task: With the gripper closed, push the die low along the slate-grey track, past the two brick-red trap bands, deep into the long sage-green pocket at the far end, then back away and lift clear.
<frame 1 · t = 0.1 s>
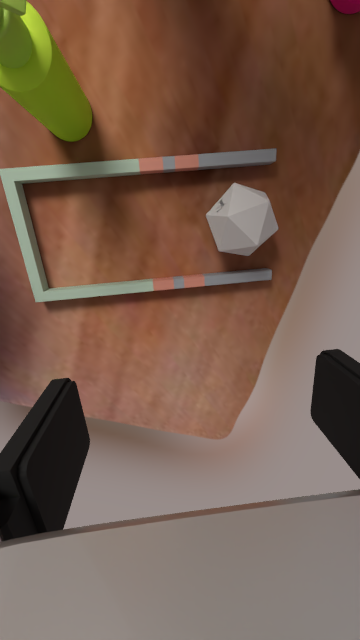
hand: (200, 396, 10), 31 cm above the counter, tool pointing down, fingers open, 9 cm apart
soap dispenser: (72, 115, 32), on the counter
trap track: (164, 228, 37), on the counter
die: (233, 222, 38), on the counter
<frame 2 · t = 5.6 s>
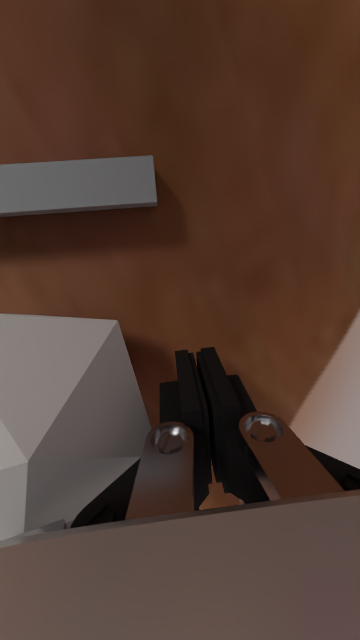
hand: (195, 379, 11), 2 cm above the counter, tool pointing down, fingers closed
die: (67, 365, 13), on the counter, touching gripper
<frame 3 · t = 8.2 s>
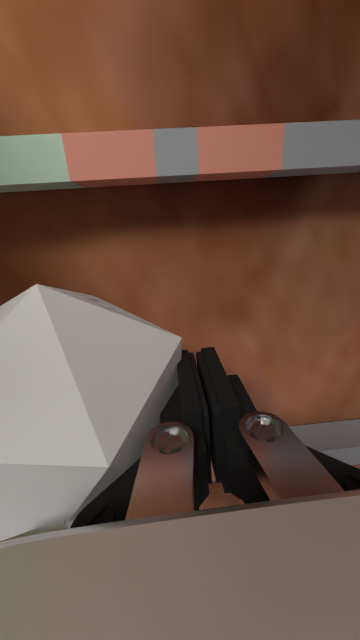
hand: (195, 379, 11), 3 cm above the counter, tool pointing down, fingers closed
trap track: (159, 335, 14), on the counter
die: (101, 349, 14), on the counter, touching gripper
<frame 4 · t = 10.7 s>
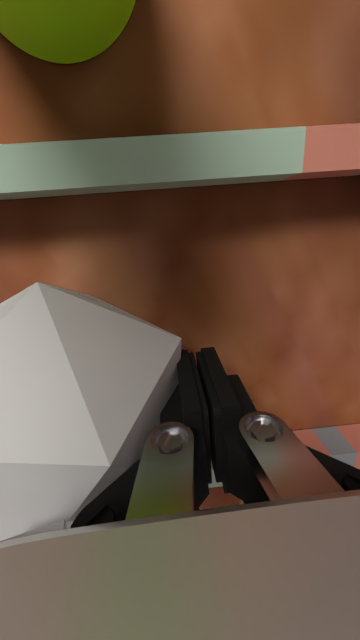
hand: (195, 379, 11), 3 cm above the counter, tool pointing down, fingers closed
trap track: (316, 325, 14), on the counter
die: (99, 350, 14), on the counter, touching gripper
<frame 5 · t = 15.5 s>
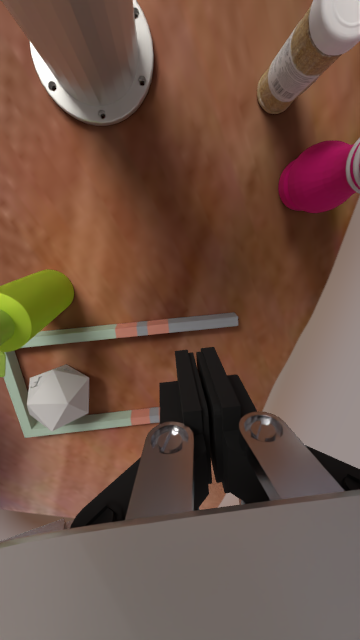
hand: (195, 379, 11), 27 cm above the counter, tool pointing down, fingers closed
pepper mill: (300, 184, 34), on the counter
soap dispenser: (56, 291, 37), on the counter
sprinkles bottle: (273, 92, 31), on the counter
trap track: (141, 371, 42), on the counter
die: (68, 380, 41), on the counter
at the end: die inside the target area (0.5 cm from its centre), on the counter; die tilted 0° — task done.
